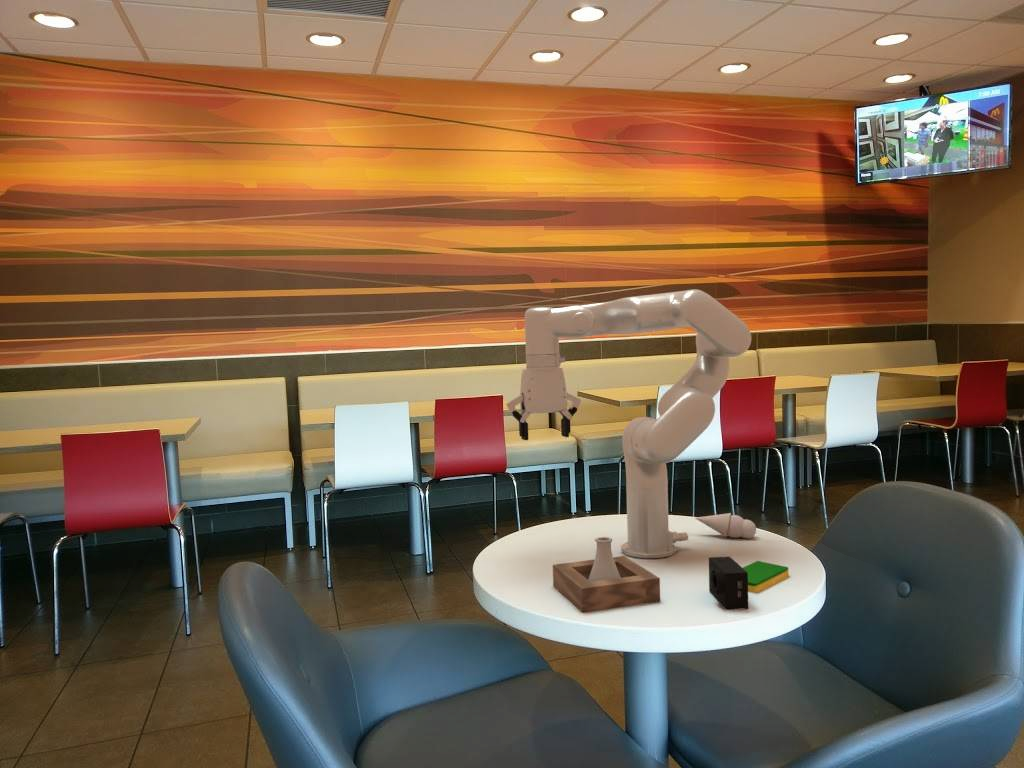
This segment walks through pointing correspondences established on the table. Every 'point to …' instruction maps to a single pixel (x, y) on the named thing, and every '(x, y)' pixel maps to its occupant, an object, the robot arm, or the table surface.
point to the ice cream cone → (730, 525)
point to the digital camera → (728, 583)
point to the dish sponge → (764, 575)
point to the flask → (603, 561)
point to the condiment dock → (606, 585)
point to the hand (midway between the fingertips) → (545, 438)
